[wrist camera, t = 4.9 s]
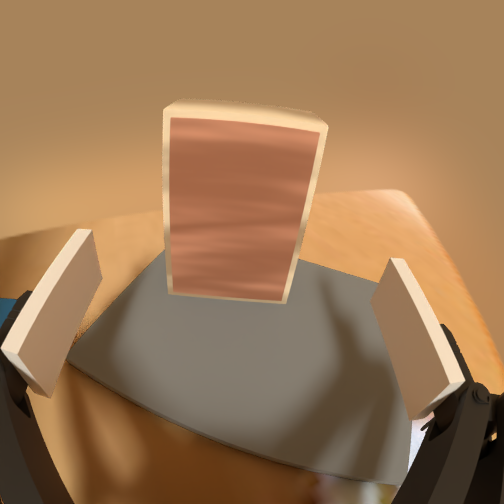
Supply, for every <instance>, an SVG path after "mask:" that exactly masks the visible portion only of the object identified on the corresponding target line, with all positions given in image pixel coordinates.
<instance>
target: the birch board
mask: <svg viewBox="0 0 504 504" xmlns="http://www.w3.org/2000/svg"><path fill="white" fill-rule="evenodd" d="M163 111H164V112H163V149H162V152H163V153H162V154H163V155H162V157H163V158H162V166H163V168H162V169H163V170H162V173H163V174H162V175H163V176H162V181H163V221H164V242H165V259H166V274H167V286H168V294H171V295H181V296H190V297H201V298H212V299H223V300H235V301H248V302H262V303H277V304H286V302H287V298H288V295H289V291H290V287H291V284H292V280H293V276H294V272H295V269H296V265H297V261H298V257H299V253H300V249H301V245H302V241H303V237H304V233H305V229H306V225H307V221H308V217H309V213H310V209H311V204H312V200H313V196H314V191H315V187H316V182H317V178H318V174H319V169H320V165H321V160H322V156H323V151H324V146H325V142H326V137H327V132H328V127H329V126H328V125H327V124H326V123H325V122H323V121H322V120H321V119H320V118H319V117H318V116H317V115H316V114H314V113H313V112H309V111H303V110H298V109H291V108H285V107H278V106H269V105H262V104H253V103H244V102H234V101H220V100H206V99H183V98H181V99H179V100H177V101H176V102H174V103H172V104H171V105H169V106H168V107H166V108H165V109H164V110H163Z"/></svg>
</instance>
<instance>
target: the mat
mask: <svg viewBox="0 0 504 504" xmlns="http://www.w3.org/2000/svg"><path fill="white" fill-rule="evenodd" d="M378 284H379V283H376V282H373V281H370V280H366V279H363V278H360V277H357V276H353V275H350V274H347V273H343V272H340V271H337V270H334V269H330V268H327V267H324V266H320V265H317V264H314V263H310V262H307V261H304V260H300V259H298V261H297V265H296V269H295V272H294V276H293V280H292V284H291V287H290V291H289V295H288V298H287V302H286V304H277V303H262V302H248V301H235V300H223V299H212V298H201V297H190V296H181V295H171V294H168V286H167V274H166V259H165V250H164V251H162V252H161V253H160V254H159V255H158V256H157V257H156V258H155V259H154V260H153V261H152V262H151V263H150V264H149V265H148V266H147V267H146V268H145V269H144V271H143V272H142V273H141V274H140V275H139V276H138V277H137V278H136V279H135V280H134V281H133V282H132V283H131V284H130V285H129V286H128V287H127V288H126V289H125V290H124V291H123V292H122V293H121V294H120V295H119V296H118V297H117V298H116V300H115V301H114V302H113V303H112V304H111V305H110V306H109V307H108V308H107V309H106V310H105V311H104V312H103V313H102V315H101V316H100V317H99V318H98V319H97V320H96V321H95V322H94V323H93V324H92V325H91V327H90V328H89V329H88V330H87V331H86V332H85V333H84V334H83V335H82V337H81V338H80V339H79V340H78V341H77V342H76V343H75V344H74V346H73V347H72V348H71V349H70V350H69V352H68V354H67V357H66V360H67V362H68V363H70V364H71V365H73V366H74V367H76V368H77V369H79V370H80V371H82V372H83V373H85V374H86V375H88V376H89V377H91V378H92V379H94V380H96V381H97V382H99V383H100V384H102V385H104V386H105V387H107V388H109V389H110V390H112V391H114V392H115V393H117V394H119V395H120V396H122V397H124V398H126V399H127V400H129V401H131V402H133V403H135V404H137V405H138V406H140V407H142V408H144V409H146V410H148V411H150V412H152V413H154V414H156V415H158V416H160V417H162V418H164V419H166V420H168V421H170V422H172V423H174V424H176V425H179V426H181V427H183V428H185V429H188V430H190V431H192V432H194V433H197V434H199V435H201V436H204V437H206V438H209V439H211V440H214V441H216V442H219V443H221V444H224V445H227V446H229V447H232V448H235V449H238V450H241V451H243V452H246V453H249V454H252V455H255V456H258V457H262V458H265V459H268V460H271V461H275V462H278V463H282V464H285V465H289V466H293V467H296V468H300V469H304V470H308V471H313V472H317V473H322V474H326V475H331V476H336V477H342V478H347V479H353V480H359V481H366V482H373V483H382V484H391V485H402V483H403V481H404V480H405V478H406V476H407V471H408V463H409V454H410V443H411V430H412V421H409V418H408V415H407V411H406V408H405V404H404V401H403V397H402V394H401V391H400V387H399V384H398V381H397V378H396V374H395V371H394V368H393V365H392V362H391V359H390V356H389V353H388V350H387V347H386V344H385V341H384V339H383V336H382V333H381V330H380V327H379V325H378V322H377V319H376V316H375V314H374V311H373V308H372V306H371V303H370V300H371V298H372V296H373V294H374V292H375V290H376V288H377V286H378Z"/></svg>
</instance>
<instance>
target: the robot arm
mask: <svg viewBox="0 0 504 504" xmlns="http://www.w3.org/2000/svg"><path fill="white" fill-rule="evenodd" d="M101 280H102V274H101V270H100V266H99V261H98V257H97V252H96V247H95V242H94V237H93V232H92V230H88V229H77V230H76V231H75V233H74V234H73V235H72V237H71V238H70V239H69V240H68V242H67V243H66V245H65V246H64V247H63V249H62V250H61V251H60V253H59V254H58V255H57V257H56V258H55V260H54V261H53V263H52V264H51V265H50V267H49V268H48V270H47V271H46V273H45V274H44V276H43V277H42V279H41V280H40V282H39V283H38V285H37V286H36V288H35V289H34V291H28V290H27V291H26V292H25V293H24V294H23V295H21V296H20V297H19V298H18V299H17V301H16V303H15V304H14V306H13V307H12V311H10V312H9V314H8V316H7V319H5V321H4V322H3V324H2V326H1V328H0V495H1V498H2V500H3V503H4V504H74V502H73V500H72V499H71V497H70V495H69V493H68V491H67V489H66V487H65V485H64V484H63V482H62V480H61V478H60V476H59V473H58V471H57V469H56V467H55V465H54V463H53V461H52V458H51V456H50V454H49V451H48V449H47V447H46V444H45V442H44V439H43V437H42V434H41V432H40V429H39V426H38V424H37V421H36V418H35V415H34V412H33V409H32V406H31V403H30V400H29V397H28V395H27V393H26V389H27V386H29V387H30V388H31V389H32V390H33V392H34V393H36V394H39V395H42V396H45V397H48V398H51V396H52V393H53V391H54V388H55V385H56V382H57V380H58V377H59V374H60V372H61V369H62V367H63V364H64V362H65V359H66V357H67V354H68V352H69V349H70V347H71V345H72V342H73V340H74V338H75V335H76V333H77V331H78V329H79V326H80V324H81V322H82V320H83V318H84V315H85V313H86V311H87V309H88V307H89V305H90V303H91V301H92V299H93V296H94V294H95V292H96V290H97V288H98V286H99V284H100V282H101ZM370 303H371V306H372V308H373V311H374V314H375V316H376V319H377V322H378V325H379V327H380V330H381V333H382V336H383V339H384V341H385V344H386V347H387V350H388V353H389V356H390V359H391V362H392V365H393V368H394V371H395V374H396V378H397V381H398V384H399V387H400V391H401V394H402V397H403V401H404V404H405V408H406V411H407V415H408V418H409V421H413V420H418V419H423V418H425V417H426V416H428V415H429V414H430V413H431V412H432V411H433V412H434V416H435V417H434V418H432V419H431V420H430V421H429V422H428V423H426V424H425V425H424V426H423V427H422V428H421V431H423V430H424V429H426V428H427V427H428V426H429V427H428V429H427V431H426V432H425V433H426V434H425V437H424V439H423V441H422V444H421V446H420V448H419V450H418V453H417V455H416V457H415V459H414V461H413V463H412V466H411V468H410V470H409V472H408V474H407V476H406V478H405V480H404V481H403V483H402V485H401V487H400V489H399V491H398V493H397V494H396V496H395V498H394V500H393V501H392V503H391V504H504V393H502V394H501V395H496V394H490V393H489V391H488V389H487V388H486V387H485V386H484V385H483V384H481V383H478V382H476V383H475V382H474V380H473V378H472V376H471V373H470V371H469V369H468V367H467V364H466V362H465V360H464V358H463V356H462V353H460V349H459V347H458V345H456V341H455V339H454V337H453V335H452V333H451V332H450V330H449V329H448V328H447V327H446V326H445V325H444V324H439V322H438V320H437V318H436V316H435V314H434V312H433V310H432V308H431V306H430V305H429V303H428V301H427V299H426V297H425V295H424V293H423V292H422V290H421V288H420V286H419V284H418V283H417V281H416V279H415V277H414V276H413V274H412V272H411V270H410V269H409V267H408V265H407V264H406V262H405V260H404V259H398V258H390V259H389V262H388V264H387V266H386V268H385V271H384V273H383V275H382V277H381V279H380V281H379V284H378V286H377V288H376V290H375V292H374V294H373V296H372V298H371V300H370ZM496 432H497V438H496V439H495V440H493V441H492V435H493V434H494V433H496ZM1 498H0V504H2V502H1Z"/></svg>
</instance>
